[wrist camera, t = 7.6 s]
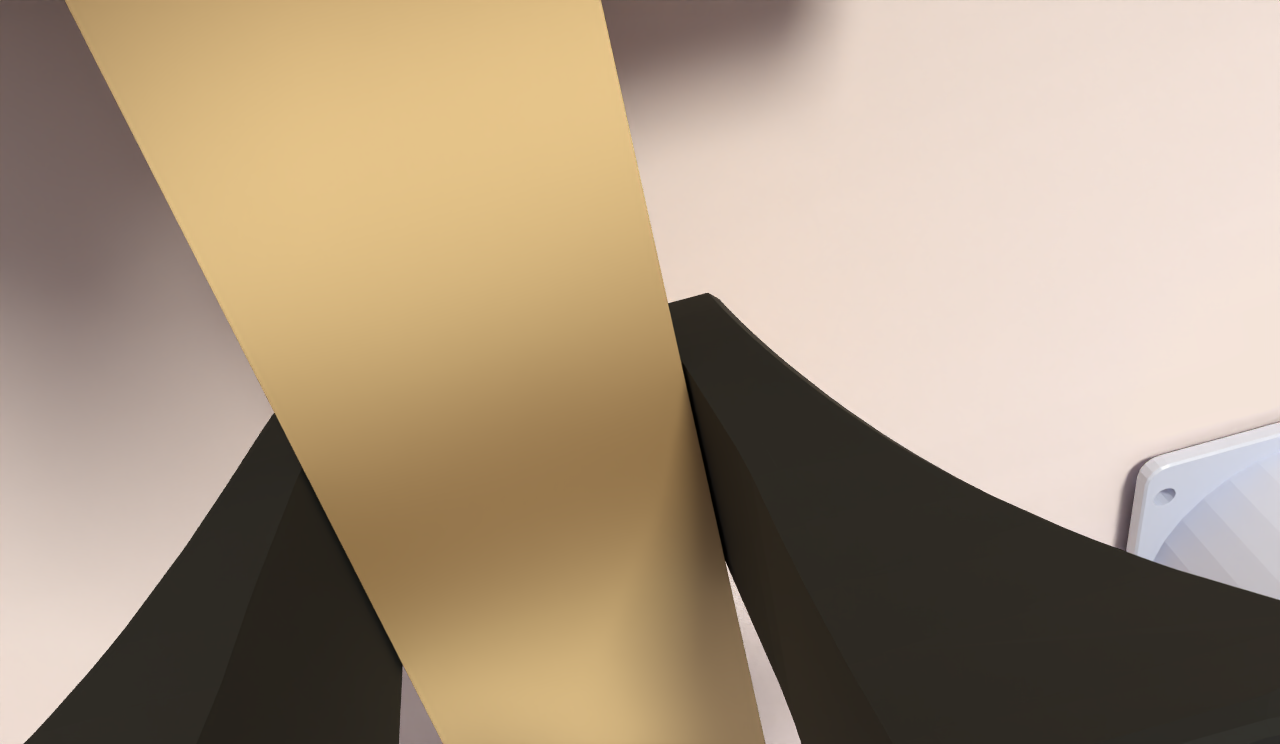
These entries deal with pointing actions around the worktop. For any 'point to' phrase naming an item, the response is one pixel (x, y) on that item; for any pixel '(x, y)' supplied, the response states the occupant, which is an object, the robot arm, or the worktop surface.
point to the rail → (457, 341)
